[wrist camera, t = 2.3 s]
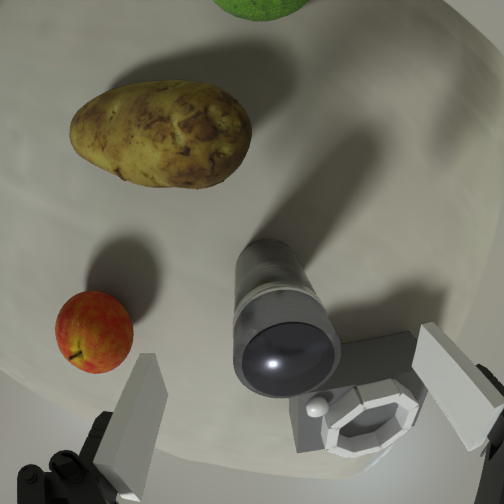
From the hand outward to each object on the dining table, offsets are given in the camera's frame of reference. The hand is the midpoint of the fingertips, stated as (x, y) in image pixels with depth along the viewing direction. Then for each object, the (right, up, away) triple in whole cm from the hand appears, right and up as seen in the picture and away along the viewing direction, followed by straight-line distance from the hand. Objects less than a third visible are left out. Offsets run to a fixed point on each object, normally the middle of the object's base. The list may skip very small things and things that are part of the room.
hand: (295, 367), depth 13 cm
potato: (-9, +15, +8) cm, 19 cm away
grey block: (+8, -8, +16) cm, 19 cm away
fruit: (-16, 0, +13) cm, 20 cm away
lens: (-1, +4, +12) cm, 12 cm away
